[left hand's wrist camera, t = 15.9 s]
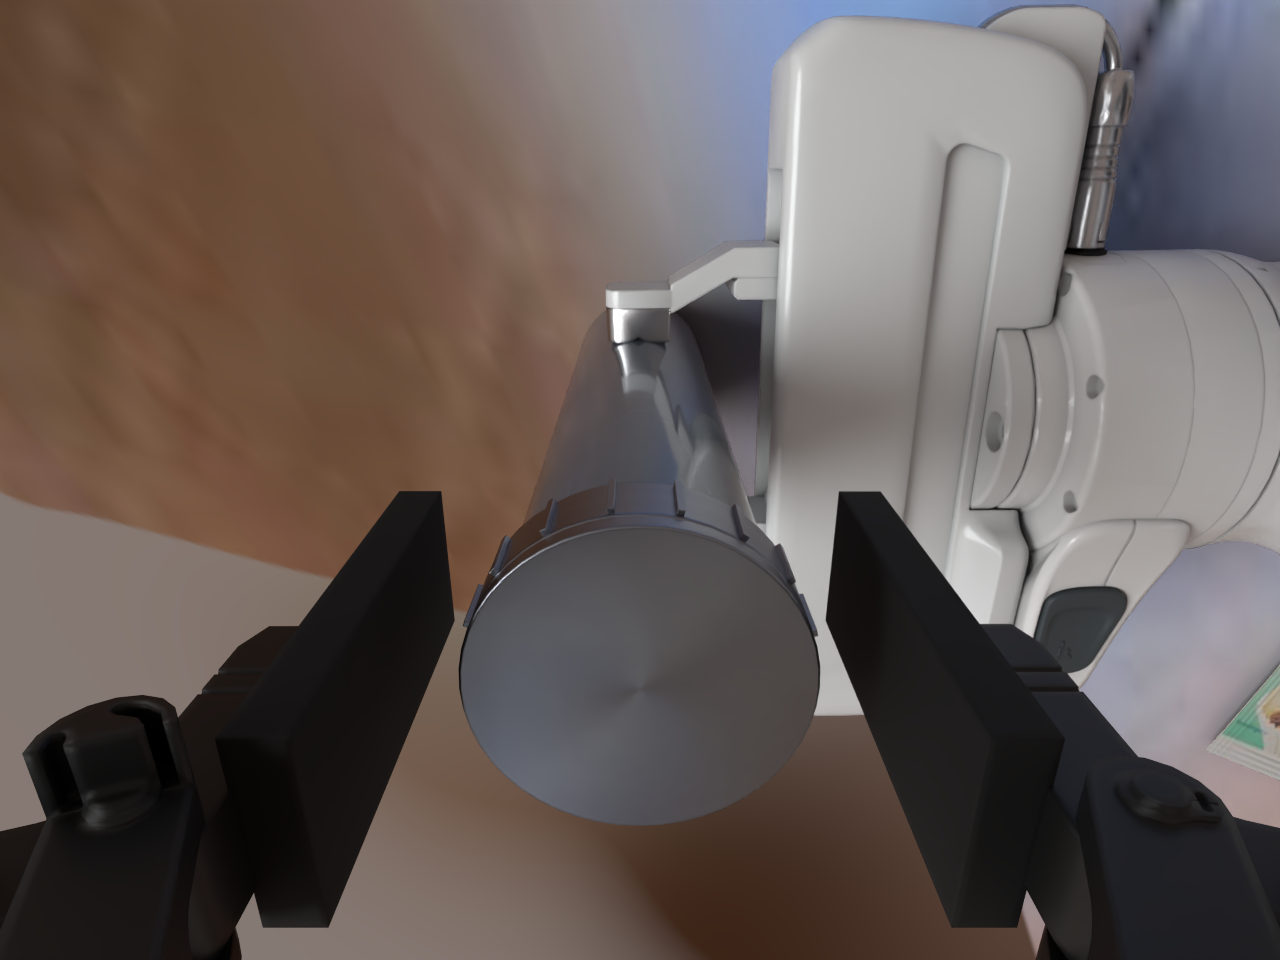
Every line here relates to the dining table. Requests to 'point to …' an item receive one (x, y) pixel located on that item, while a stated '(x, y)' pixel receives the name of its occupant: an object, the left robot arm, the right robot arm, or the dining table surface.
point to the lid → (639, 656)
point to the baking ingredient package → (1255, 732)
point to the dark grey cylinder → (639, 422)
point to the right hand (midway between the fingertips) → (610, 411)
